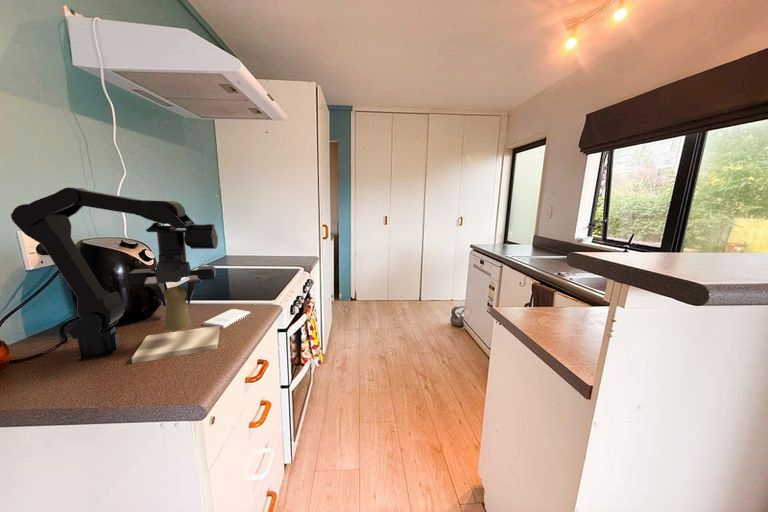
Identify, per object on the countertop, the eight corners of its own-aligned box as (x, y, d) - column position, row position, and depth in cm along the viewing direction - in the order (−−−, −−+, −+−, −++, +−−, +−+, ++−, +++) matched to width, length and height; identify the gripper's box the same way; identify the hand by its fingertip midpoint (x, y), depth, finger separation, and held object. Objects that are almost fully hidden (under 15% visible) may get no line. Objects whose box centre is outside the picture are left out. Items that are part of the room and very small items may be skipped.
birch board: (132, 363, 69) (131, 358, 68) (147, 340, 80) (146, 335, 80) (216, 349, 77) (216, 344, 76) (219, 330, 88) (219, 325, 88)
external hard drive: (250, 315, 101) (223, 329, 89) (231, 312, 103) (202, 326, 91) (250, 311, 101) (223, 325, 89) (231, 308, 103) (202, 321, 91)
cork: (162, 324, 77) (160, 286, 75) (188, 319, 81) (186, 283, 79) (165, 332, 73) (163, 292, 71) (193, 326, 77) (191, 288, 75)
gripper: (113, 255, 62) (121, 321, 65) (210, 252, 71) (214, 310, 73) (130, 248, 72) (137, 305, 75) (214, 246, 80) (217, 297, 83)
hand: (177, 304), depth 76 cm, fingers closed on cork, 5 cm apart
